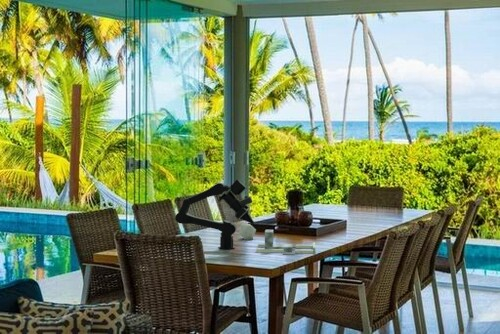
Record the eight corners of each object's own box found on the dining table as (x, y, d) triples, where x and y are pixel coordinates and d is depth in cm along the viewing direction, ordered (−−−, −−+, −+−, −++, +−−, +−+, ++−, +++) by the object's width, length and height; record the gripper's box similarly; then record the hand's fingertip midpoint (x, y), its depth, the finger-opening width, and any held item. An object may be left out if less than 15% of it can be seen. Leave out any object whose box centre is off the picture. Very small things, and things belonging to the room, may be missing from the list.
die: (250, 238, 499) (240, 224, 499) (261, 232, 494) (250, 217, 493) (244, 245, 492) (233, 231, 492) (254, 239, 487) (244, 224, 486)
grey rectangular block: (264, 251, 450) (264, 232, 449) (265, 248, 460) (265, 229, 459) (291, 252, 449) (292, 232, 448) (292, 249, 459) (292, 230, 458)
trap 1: (282, 254, 439) (282, 254, 439) (283, 252, 445) (283, 252, 445) (294, 254, 438) (294, 254, 438) (295, 253, 444) (295, 252, 444)
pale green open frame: (255, 252, 446) (256, 246, 446) (258, 246, 464) (258, 241, 464) (315, 253, 444) (315, 247, 444) (315, 248, 462) (315, 242, 462)
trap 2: (284, 247, 463) (284, 246, 463) (284, 245, 469) (284, 244, 469) (295, 247, 463) (295, 246, 463) (296, 245, 469) (296, 245, 469)
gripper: (242, 192, 444) (263, 214, 444) (245, 189, 463) (265, 210, 463) (226, 207, 446) (247, 229, 445) (230, 203, 464) (250, 225, 464)
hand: (253, 223), depth 454 cm, fingers closed
